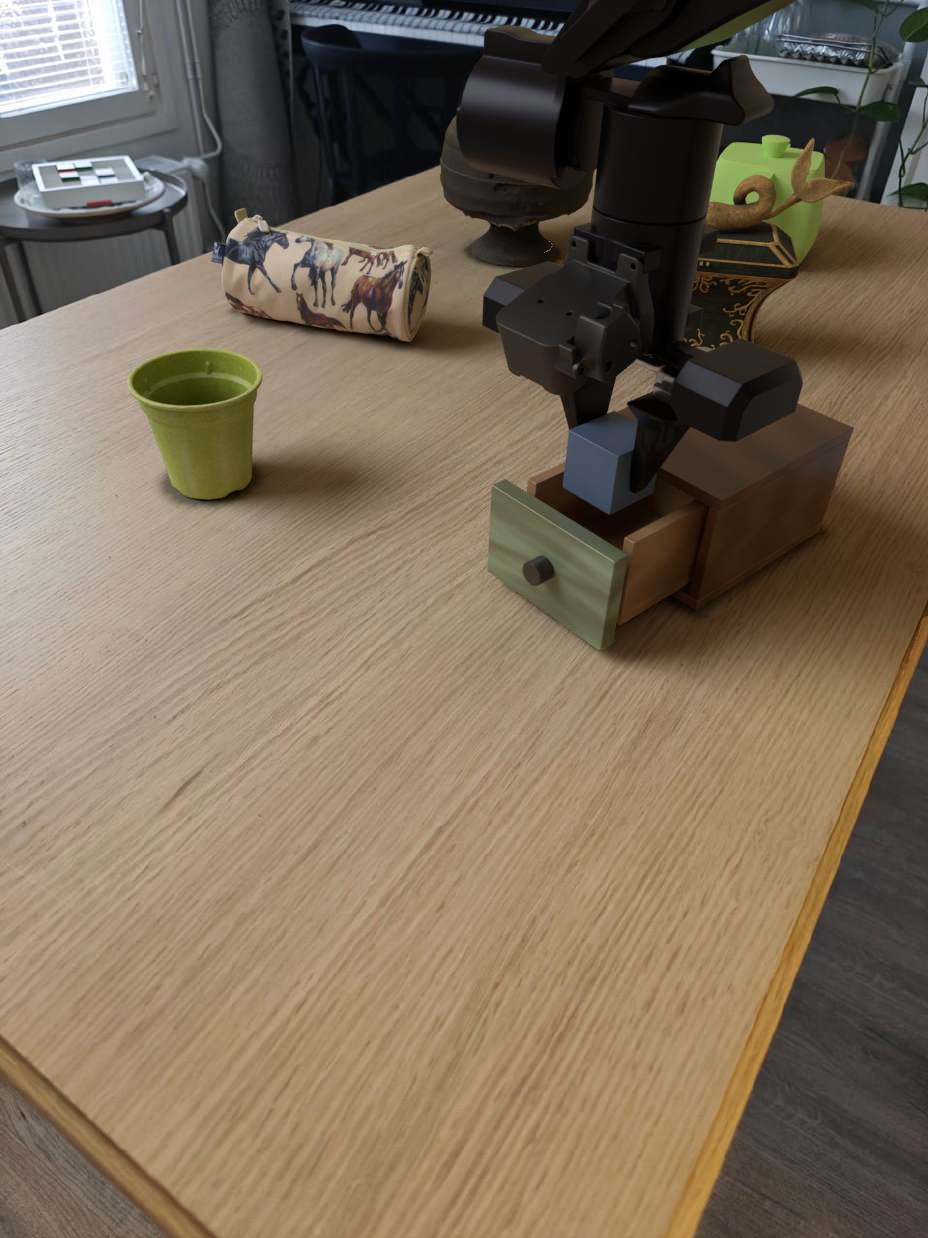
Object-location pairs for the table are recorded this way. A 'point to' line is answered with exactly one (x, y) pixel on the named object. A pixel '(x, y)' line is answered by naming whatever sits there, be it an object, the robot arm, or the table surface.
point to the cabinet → (755, 494)
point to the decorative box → (749, 255)
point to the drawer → (592, 551)
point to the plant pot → (201, 416)
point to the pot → (506, 207)
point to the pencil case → (324, 280)
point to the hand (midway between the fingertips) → (610, 475)
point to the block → (603, 462)
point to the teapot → (777, 166)
